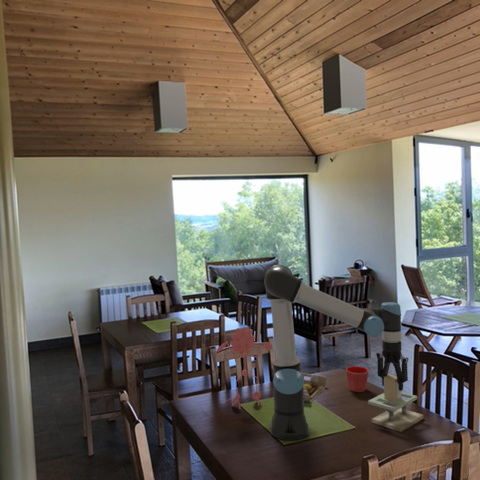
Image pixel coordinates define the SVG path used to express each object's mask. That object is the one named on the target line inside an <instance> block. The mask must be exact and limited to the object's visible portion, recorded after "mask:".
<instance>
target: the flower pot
mask: <svg viewBox="0 0 480 480" xmlns="http://www.w3.org/2000/svg"><path fill="white" fill-rule="evenodd" d="M345 371H346V373H345V374H346V378H347V384H348V389H349V391H351V392H358V393H362V392H365V391H366V389H367V384H368V383H367V382H368V378H369V377H368V376H369V369H368V368H366V367H363V366H354V365H353V366H348V367H347V368H345Z"/></svg>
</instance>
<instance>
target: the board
mask: <svg viewBox="0 0 480 480" xmlns="http://www.w3.org/2000/svg"><path fill="white" fill-rule="evenodd" d="M404 399H405V398H404ZM405 400H407V398H406V399H405ZM408 405H409V404H407V405H406V406H404V407H402V408H400V409H398V410H397V411H395V412H394V411H391V410H387V409H386V411H384V412H382V413H380V414H378V415H377V416H374V417H372V418H371V423H373V424H375V425H379V426H382V427H384V428H387V429H390V430H393V431H397V432H399V433H402V432H403V431H406V430H407V429H409V428H410V427H413V425H415V424H417V423H419V422H420V421H421V420H424V419H425V418H424V414H422V413H418V412H414V411H412V410H409V409H407V406H408ZM391 406H392V407H395V405H391Z"/></svg>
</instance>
